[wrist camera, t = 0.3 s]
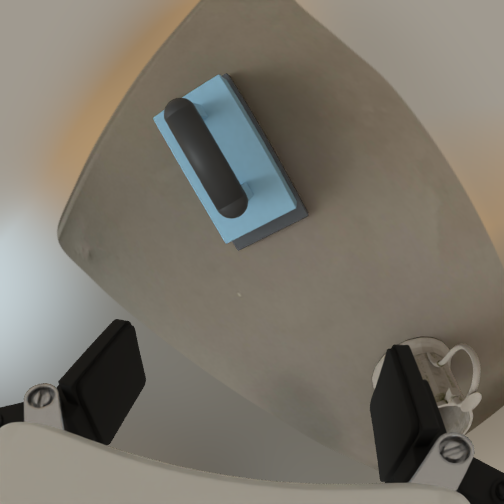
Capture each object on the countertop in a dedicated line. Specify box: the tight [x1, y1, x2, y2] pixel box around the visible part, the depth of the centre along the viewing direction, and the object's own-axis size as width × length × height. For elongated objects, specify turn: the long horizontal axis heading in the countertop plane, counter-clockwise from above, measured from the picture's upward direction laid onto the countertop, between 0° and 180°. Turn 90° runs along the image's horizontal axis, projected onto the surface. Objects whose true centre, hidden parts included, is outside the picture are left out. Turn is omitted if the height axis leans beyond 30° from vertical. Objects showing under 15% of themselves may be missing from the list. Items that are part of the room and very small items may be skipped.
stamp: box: [153, 73, 308, 251], centre depth 24 cm, size 14×7×8 cm, turn 30°
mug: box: [372, 337, 482, 435], centre depth 26 cm, size 14×10×12 cm
